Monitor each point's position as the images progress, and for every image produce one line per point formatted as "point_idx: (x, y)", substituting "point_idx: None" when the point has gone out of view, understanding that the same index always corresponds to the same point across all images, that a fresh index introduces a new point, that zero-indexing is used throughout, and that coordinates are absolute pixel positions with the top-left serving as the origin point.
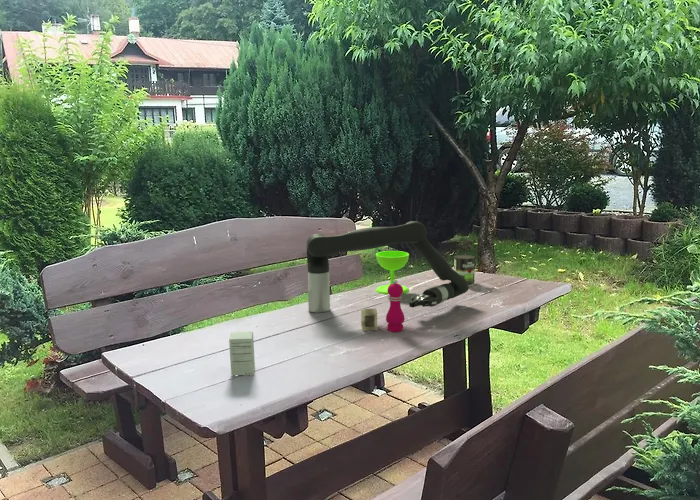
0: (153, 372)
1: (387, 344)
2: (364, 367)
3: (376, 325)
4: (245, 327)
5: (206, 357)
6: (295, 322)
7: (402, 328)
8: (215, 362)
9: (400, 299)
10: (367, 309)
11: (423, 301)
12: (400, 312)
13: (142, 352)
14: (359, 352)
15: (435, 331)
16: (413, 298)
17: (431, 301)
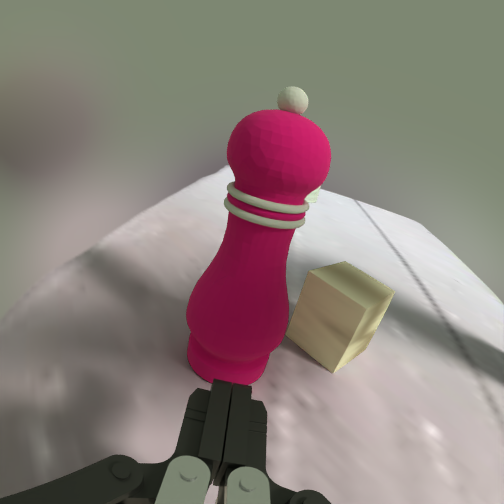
0: (354, 202)
1: (176, 256)
2: (169, 199)
3: (293, 318)
4: (456, 275)
5: (364, 216)
6: (459, 309)
7: (188, 347)
8: (344, 210)
9: (225, 198)
10: (374, 291)
11: (116, 458)
12: (207, 268)
13: (409, 223)
14: (213, 227)
15: (27, 375)
16: (298, 502)
17: (26, 498)
